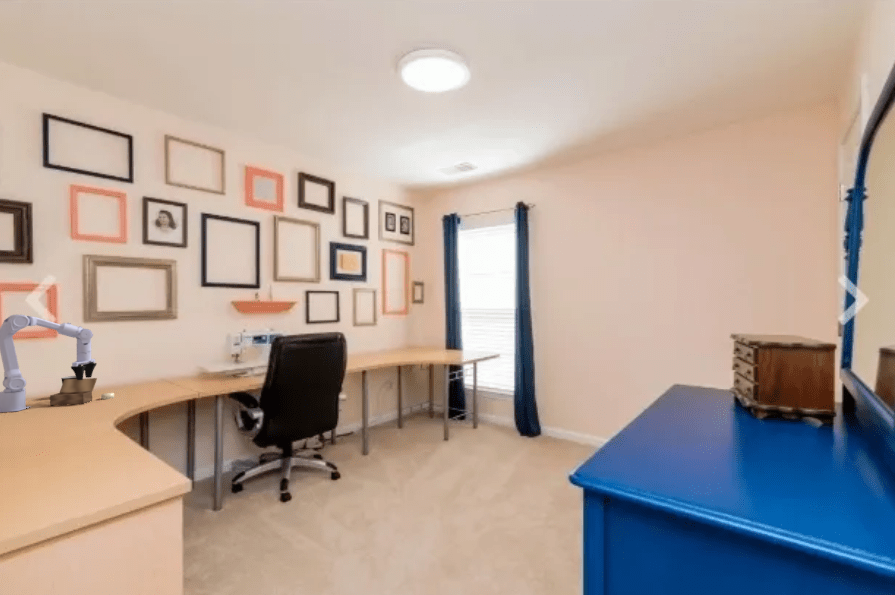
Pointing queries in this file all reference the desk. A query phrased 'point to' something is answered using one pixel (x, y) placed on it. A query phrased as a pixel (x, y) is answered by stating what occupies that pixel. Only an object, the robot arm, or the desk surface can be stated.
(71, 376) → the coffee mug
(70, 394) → the walnut box
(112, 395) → the cream domed disc
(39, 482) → the desk surface
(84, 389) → the lid
